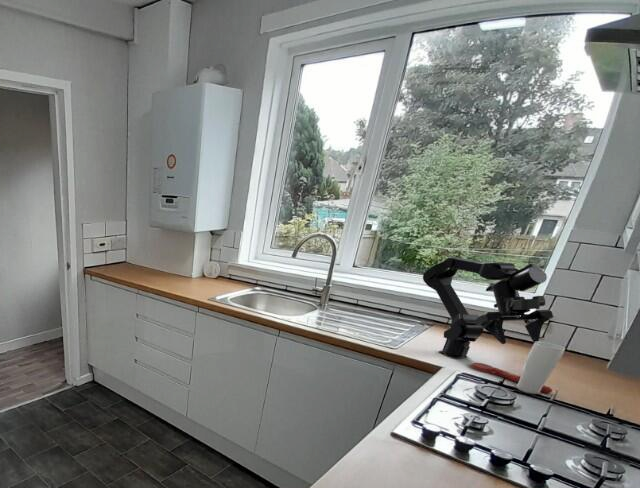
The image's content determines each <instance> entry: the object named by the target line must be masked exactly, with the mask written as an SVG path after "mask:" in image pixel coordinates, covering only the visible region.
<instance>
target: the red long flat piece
mask: <svg viewBox="0 0 640 488" xmlns="http://www.w3.org/2000/svg"><path fill="white" fill-rule="evenodd" d="M470 366H471V368H472V369H474V370H476V371H479V372H483V373H490V374H491V375H495V376H498V377H502V378H504V379H507V380H509V381H513V382H515V383H517V384H518V382H519V380H520V377H521V375H518V374H514V373H512V372H509V371H506V370H504V369H501V368H498V367H494V366H492V365H491V364H486V363H483V362H472V363H471V365H470ZM552 392H553V388H552V387H550V386H548V385H545V384H544V386H543V387H542V389H541V391H540V393H544V394H550V393H552Z"/></svg>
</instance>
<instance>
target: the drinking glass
mask: <svg viewBox="0 0 640 488" xmlns="http://www.w3.org/2000/svg"><path fill="white" fill-rule="evenodd" d="M565 350H566V347H564V346H563V345H560V344H557V343H552V342H547V341H540V340H539V341H536V342H533V344H532V345H531V348H530V350H529V352H528V354H527V357H526V359H525V363H524V366H523V369H522V372H521V374H520V380H519V382H518V383H517V384H516V389H517V390H518V391H520V392H522V393H525V394H530V395H538V394H540V393H541V389H542V387H543V386H544V385H545V384H546V383H547V381H548V379H549V378H550V377H551V375H552V373H553V372H554V370H555V368H556V367H557V366H558V364H559V363H560V361H561V359H562V357H563V356H564V353H565Z"/></svg>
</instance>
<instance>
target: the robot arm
mask: <svg viewBox="0 0 640 488" xmlns="http://www.w3.org/2000/svg"><path fill="white" fill-rule="evenodd" d="M458 271H463V272H468V273H474V274H477V275H478V276H479V277H480V278H483V279H484V280H488V281H497V282H494V283H493V282H491V283H489V285H488V286H487V287H486V288H485V292H491V293H493V297H494V299H495V303H494V304H493V308H494V309H497V310H498V311H486V312H484V313H483V314H481V315H478V314H470V313H469V312H468V311H467V309H466V308H465V306H464V304H463V302H462V301H461V299H460V298H459V296H458V294H457V292H456V290H455V289H454V287H453V285H452V282H453V278H454V276H455V275H457V273H458ZM547 276H548V275H547V273H546V272H545V271H544V270H543V269H542V268H541V267H539V266H538V264H537V263H529V264H526V265H525V266H524V267H522V268H520V269H518V268H516V265H515V264H514V263H512V262H498V261H497V262H495V261H493V262H492V261H491V262H488V261H487V262H484V261H478V260H473V259H468V258H463V257H458V256H457V257H456V256H450V257H447V258H446V259H444V260H442V261H441V262H438V263H436V264H434V265H432V266H431V267H429V268H427V269H426V270H425V272H423V274H422V280H423V282H424V283H425V284H426V286H427V287H429V288H431V289H432V290H434V291H435V292H436V294H437V296H438V297H439V299H440V301H441V303H442V304H443V306H444V308H445V309H446V311H447V313H448V315H449V317H450V318H451V322H450V328H448V329H446V330H445V331H443V339H446V340H445V343H444V345H443V347H442V350H439V351H438V353H439V354H442V355H444V356H447V357H451V358H453V359H466V358H468V353H469V350H470V344H471V342H473V343H474V342H476V341H477V340H478V339H479V338H480V337H481V336H482V334H483V333H484V330H485V331H487V332H488V333H489V334H490V335H492V336H493V337H494V338H495V339H496V340H497V341H498V342H499V343H500V344H501V345H505V344H506V343H507V341H506V335H505V331H504V327H503V325H504V322H516V321H517V322H518V321H522V322H524V323H525V325H524V327H525V329H526V331H527V334H528V335H529V337H530V338H531V341H532V342H533V343H534V342H536V341H540V336H541V332H542V328H543V326H544V324H545V323H546V322H549V321H550V320H551V319H553V318H554V314H553V311H552V310H550V309H540V308H541V307H544V306H545V305H546V298H545V296H544V295H534V296H532V297H531V298H526V297H524V296H520V292H526V291H528V290H530V289H532V288H534V287H537V286H539V285H541V284H543V283H545V282H546V281H547V279H548V277H547ZM531 310H534V311H532V312H531Z"/></svg>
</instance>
